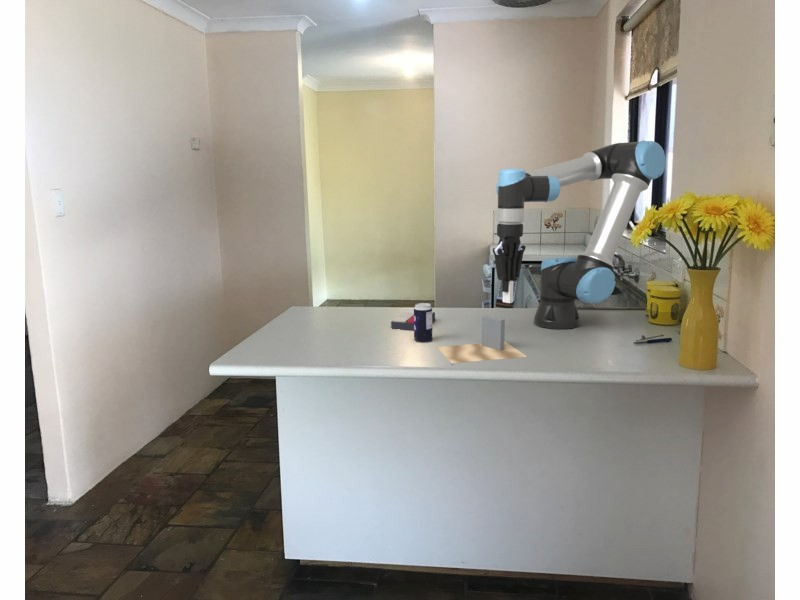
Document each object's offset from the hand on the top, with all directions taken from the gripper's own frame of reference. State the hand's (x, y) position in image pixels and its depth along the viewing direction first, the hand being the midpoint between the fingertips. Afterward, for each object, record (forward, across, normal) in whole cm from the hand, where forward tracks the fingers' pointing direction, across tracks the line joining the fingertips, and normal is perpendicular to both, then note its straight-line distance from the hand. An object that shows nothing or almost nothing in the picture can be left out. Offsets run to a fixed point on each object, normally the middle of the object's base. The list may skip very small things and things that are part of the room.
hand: (507, 302), depth 176 cm
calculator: (+14, +3, -38) cm, 41 cm away
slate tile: (+13, +6, 0) cm, 14 cm away
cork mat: (+14, +12, 0) cm, 18 cm away
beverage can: (+14, +16, -20) cm, 29 cm away
